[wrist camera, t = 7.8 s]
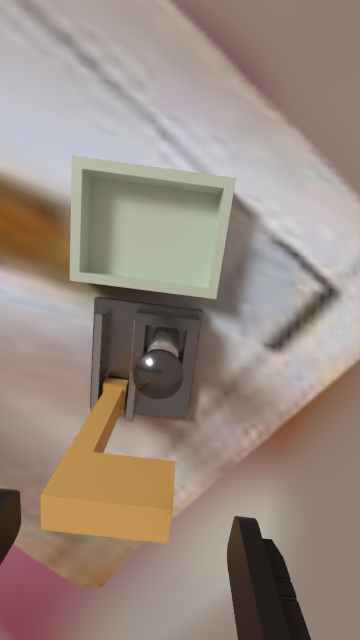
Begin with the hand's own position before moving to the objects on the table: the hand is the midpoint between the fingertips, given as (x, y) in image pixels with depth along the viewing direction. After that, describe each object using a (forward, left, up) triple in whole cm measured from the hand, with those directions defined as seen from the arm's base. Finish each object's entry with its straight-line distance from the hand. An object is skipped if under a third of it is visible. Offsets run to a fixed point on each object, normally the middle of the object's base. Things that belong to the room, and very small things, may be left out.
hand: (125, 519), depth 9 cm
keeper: (-2, -8, -21) cm, 23 cm away
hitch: (-3, -4, -23) cm, 23 cm away
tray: (-3, +12, -23) cm, 26 cm away
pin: (0, 0, -22) cm, 22 cm away
